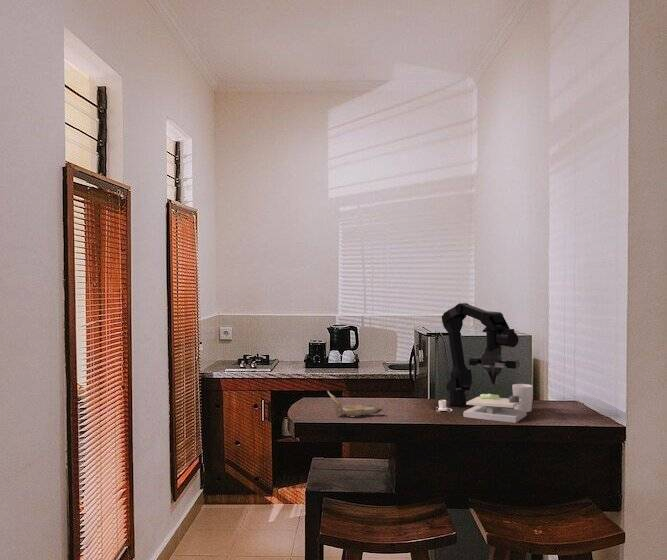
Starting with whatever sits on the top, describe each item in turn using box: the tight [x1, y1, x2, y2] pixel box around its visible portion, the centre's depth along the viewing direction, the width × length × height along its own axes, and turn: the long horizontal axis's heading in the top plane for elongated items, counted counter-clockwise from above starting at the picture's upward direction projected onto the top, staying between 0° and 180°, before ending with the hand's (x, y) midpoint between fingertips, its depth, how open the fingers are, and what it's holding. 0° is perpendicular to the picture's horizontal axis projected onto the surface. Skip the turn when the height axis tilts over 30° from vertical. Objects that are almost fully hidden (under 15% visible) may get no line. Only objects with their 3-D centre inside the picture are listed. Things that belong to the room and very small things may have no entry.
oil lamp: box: [327, 390, 383, 417], centre depth 241 cm, size 9×21×10 cm, turn 91°
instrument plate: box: [466, 393, 523, 409], centre depth 237 cm, size 18×13×3 cm
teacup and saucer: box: [437, 399, 453, 412], centre depth 250 cm, size 9×8×4 cm
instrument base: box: [462, 405, 528, 424], centre depth 237 cm, size 20×14×4 cm
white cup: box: [511, 383, 534, 413], centre depth 247 cm, size 8×8×10 cm
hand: (493, 384), depth 240 cm, fingers closed
